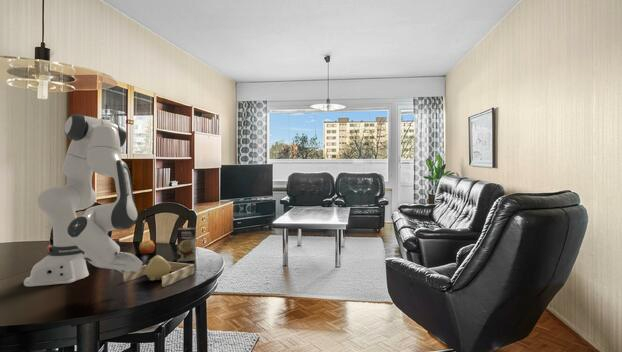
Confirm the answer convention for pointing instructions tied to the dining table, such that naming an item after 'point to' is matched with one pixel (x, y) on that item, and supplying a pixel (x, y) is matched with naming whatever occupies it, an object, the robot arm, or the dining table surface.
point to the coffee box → (186, 244)
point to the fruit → (147, 247)
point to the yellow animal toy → (157, 268)
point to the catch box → (177, 274)
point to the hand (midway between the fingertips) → (127, 272)
